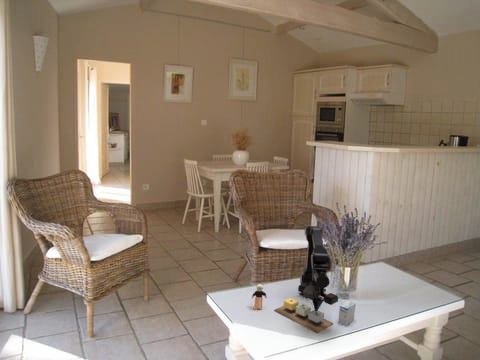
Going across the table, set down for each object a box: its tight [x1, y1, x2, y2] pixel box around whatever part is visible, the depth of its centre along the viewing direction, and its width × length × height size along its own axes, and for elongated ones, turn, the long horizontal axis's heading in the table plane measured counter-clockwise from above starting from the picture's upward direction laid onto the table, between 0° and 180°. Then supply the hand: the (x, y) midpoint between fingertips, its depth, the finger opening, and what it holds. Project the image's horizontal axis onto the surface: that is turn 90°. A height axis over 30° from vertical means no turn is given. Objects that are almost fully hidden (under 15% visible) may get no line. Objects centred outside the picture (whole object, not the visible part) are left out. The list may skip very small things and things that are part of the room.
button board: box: [273, 305, 334, 334], centre depth 191 cm, size 12×26×1 cm, turn 43°
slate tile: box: [308, 309, 325, 323], centre depth 185 cm, size 5×5×3 cm
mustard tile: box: [283, 297, 300, 310], centre depth 196 cm, size 5×5×3 cm
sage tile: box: [296, 303, 312, 316], centre depth 191 cm, size 5×5×3 cm
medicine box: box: [337, 300, 356, 327], centre depth 188 cm, size 8×4×9 cm, turn 141°
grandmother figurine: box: [251, 283, 268, 311], centre depth 198 cm, size 8×4×13 cm, turn 105°
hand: (316, 310), depth 185 cm, fingers closed
